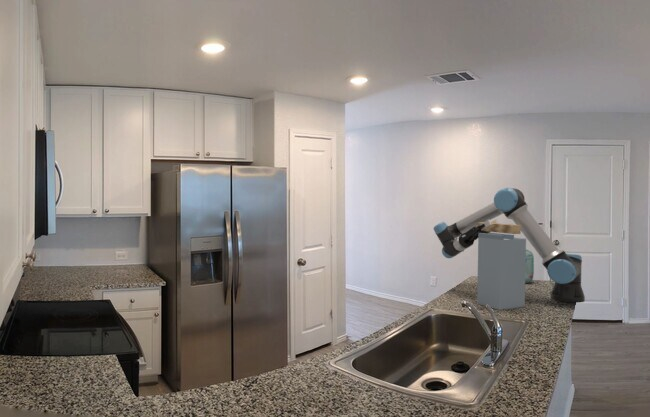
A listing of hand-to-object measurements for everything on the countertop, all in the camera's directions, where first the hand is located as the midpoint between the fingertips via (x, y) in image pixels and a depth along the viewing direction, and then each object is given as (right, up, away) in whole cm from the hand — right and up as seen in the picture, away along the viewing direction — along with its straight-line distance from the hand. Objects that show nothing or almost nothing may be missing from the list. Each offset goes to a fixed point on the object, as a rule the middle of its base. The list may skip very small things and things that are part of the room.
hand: (493, 222), depth 231 cm
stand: (+1, -39, -8) cm, 40 cm away
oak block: (+1, -5, -3) cm, 6 cm away
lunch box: (+29, -38, +53) cm, 71 cm away
